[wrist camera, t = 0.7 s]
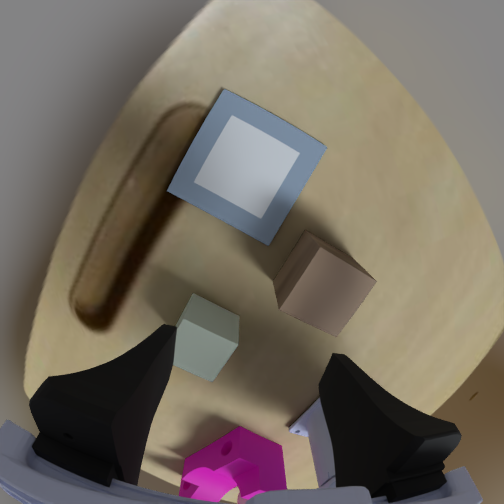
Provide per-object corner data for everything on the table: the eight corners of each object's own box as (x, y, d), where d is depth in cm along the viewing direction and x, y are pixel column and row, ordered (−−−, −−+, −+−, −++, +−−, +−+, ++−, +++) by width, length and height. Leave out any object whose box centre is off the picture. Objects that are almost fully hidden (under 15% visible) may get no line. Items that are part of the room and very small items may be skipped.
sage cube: (239, 315, 23) (238, 344, 19) (216, 350, 24) (212, 382, 20) (193, 292, 22) (183, 318, 18) (173, 330, 23) (161, 359, 19)
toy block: (239, 424, 27) (239, 482, 19) (281, 444, 28) (287, 497, 21) (166, 467, 30) (157, 511, 23) (204, 483, 31) (200, 525, 24)
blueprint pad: (326, 147, 19) (327, 147, 19) (268, 244, 21) (268, 246, 21) (224, 89, 18) (224, 88, 17) (167, 190, 20) (166, 190, 19)
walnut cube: (353, 258, 21) (376, 281, 17) (321, 306, 22) (336, 337, 18) (305, 229, 21) (320, 246, 16) (272, 281, 22) (279, 309, 17)
